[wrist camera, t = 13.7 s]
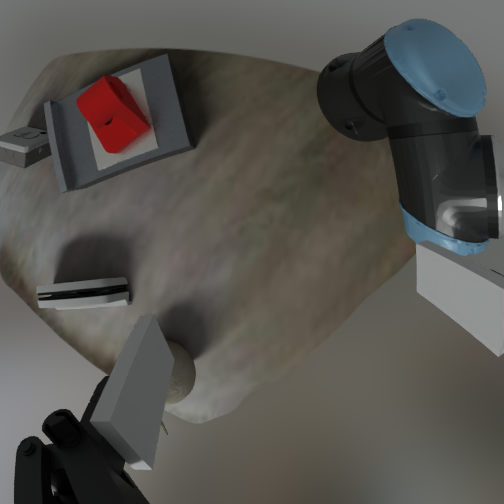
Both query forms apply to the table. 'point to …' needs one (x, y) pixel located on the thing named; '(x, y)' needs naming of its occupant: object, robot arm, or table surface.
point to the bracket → (112, 113)
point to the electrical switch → (24, 146)
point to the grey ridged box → (84, 138)
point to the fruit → (180, 375)
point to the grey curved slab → (74, 300)
